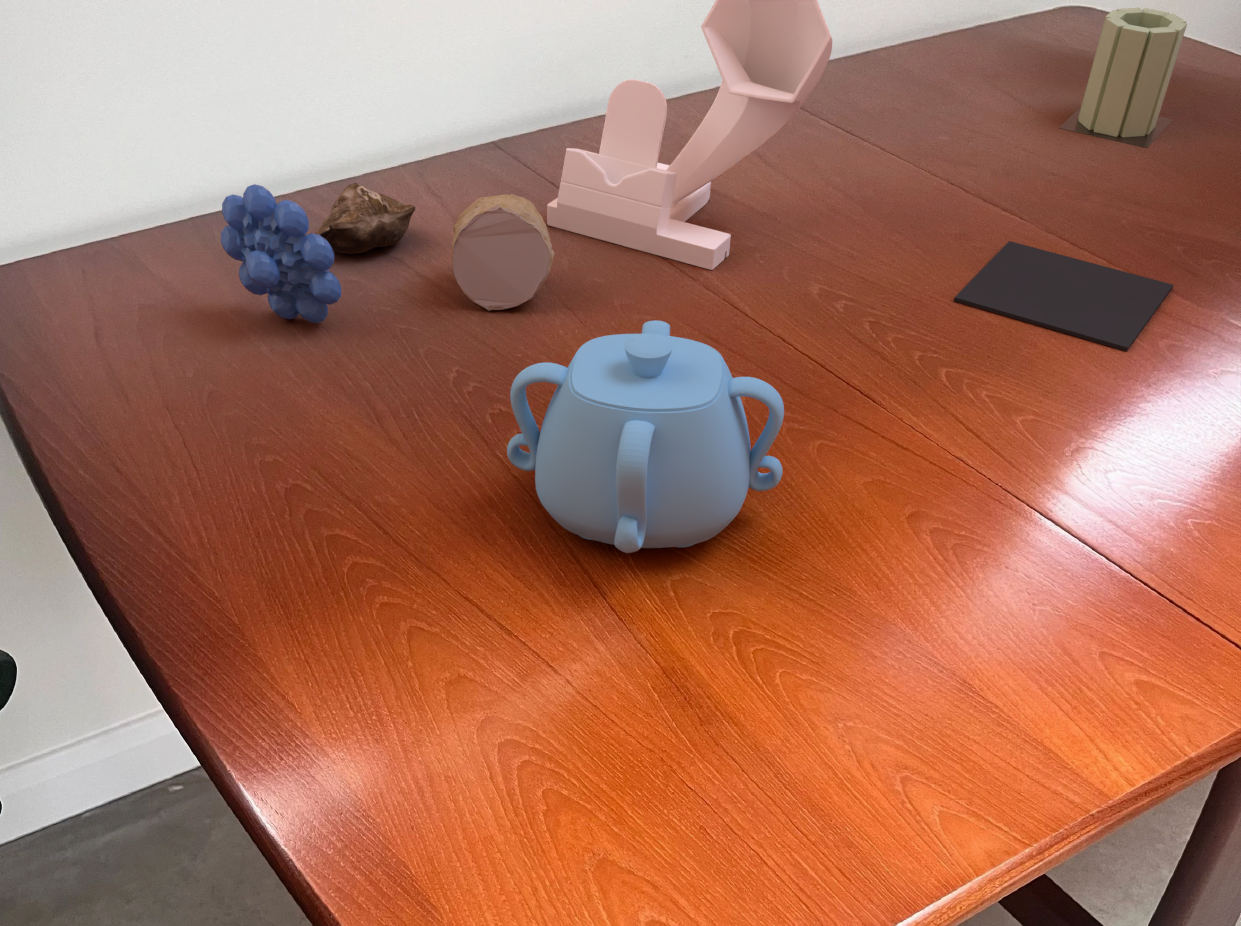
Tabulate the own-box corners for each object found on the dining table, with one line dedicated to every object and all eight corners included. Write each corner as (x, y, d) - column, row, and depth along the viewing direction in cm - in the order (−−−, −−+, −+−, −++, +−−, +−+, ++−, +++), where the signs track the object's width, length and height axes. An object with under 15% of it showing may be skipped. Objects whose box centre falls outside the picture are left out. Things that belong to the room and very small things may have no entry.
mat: (1172, 288, 120) (1173, 284, 120) (1126, 351, 111) (1128, 347, 111) (1008, 244, 126) (1009, 240, 126) (953, 301, 118) (954, 297, 118)
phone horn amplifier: (546, 225, 129) (543, -49, 112) (622, 171, 139) (630, -88, 122) (772, 286, 120) (806, -1, 103) (837, 224, 129) (878, -48, 112)
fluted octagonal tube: (1161, 120, 146) (1194, 16, 138) (1140, 142, 141) (1173, 37, 133) (1092, 105, 149) (1120, 3, 142) (1069, 126, 144) (1097, 22, 137)
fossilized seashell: (319, 249, 120) (424, 252, 123) (315, 174, 118) (422, 179, 122) (308, 258, 127) (408, 261, 130) (304, 188, 125) (405, 192, 129)
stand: (1169, 132, 147) (1198, 40, 140) (1143, 161, 141) (1172, 66, 134) (1083, 113, 151) (1107, 23, 144) (1054, 141, 145) (1078, 48, 138)
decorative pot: (602, 605, 87) (606, 436, 78) (493, 483, 97) (485, 321, 88) (794, 531, 93) (819, 367, 84) (672, 424, 103) (683, 266, 94)
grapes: (207, 326, 114) (179, 195, 106) (251, 293, 119) (227, 165, 110) (318, 354, 111) (298, 221, 102) (359, 319, 115) (342, 189, 107)
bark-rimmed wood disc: (430, 252, 110) (447, 163, 113) (455, 327, 119) (470, 242, 123) (539, 252, 108) (552, 161, 112) (556, 328, 117) (568, 241, 121)
